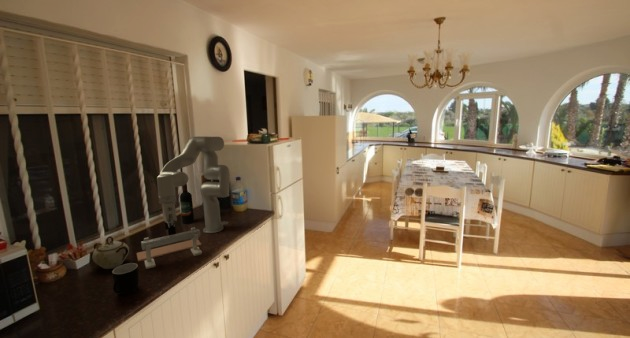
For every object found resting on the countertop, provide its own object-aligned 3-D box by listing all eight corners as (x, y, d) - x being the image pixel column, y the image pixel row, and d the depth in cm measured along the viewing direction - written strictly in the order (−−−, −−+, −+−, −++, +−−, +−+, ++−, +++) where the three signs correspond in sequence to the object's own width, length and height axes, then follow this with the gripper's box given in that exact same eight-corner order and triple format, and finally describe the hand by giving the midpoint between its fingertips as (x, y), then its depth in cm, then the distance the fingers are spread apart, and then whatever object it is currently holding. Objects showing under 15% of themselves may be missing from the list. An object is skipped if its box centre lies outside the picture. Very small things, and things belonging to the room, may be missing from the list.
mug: (124, 284, 127) (121, 263, 125) (145, 284, 127) (142, 262, 125) (105, 301, 115) (101, 278, 113) (127, 301, 115) (124, 278, 113)
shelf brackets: (198, 248, 161) (196, 226, 158) (202, 253, 154) (200, 230, 152) (144, 262, 146) (141, 238, 144) (146, 269, 139) (143, 243, 137)
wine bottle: (196, 221, 204) (192, 179, 199) (187, 224, 197) (183, 181, 192) (188, 219, 207) (184, 178, 202) (179, 223, 200) (175, 181, 195)
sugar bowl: (141, 259, 149) (138, 231, 147) (116, 274, 135) (112, 244, 132) (110, 256, 153) (106, 229, 151) (82, 270, 139) (77, 241, 136)
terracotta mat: (197, 239, 173) (197, 238, 172) (201, 245, 164) (201, 244, 164) (136, 254, 155) (136, 253, 155) (138, 261, 147) (138, 260, 147)
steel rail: (199, 234, 157) (198, 228, 157) (200, 236, 155) (200, 230, 154) (141, 247, 142) (140, 241, 142) (142, 250, 140) (141, 243, 139)
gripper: (179, 201, 140) (181, 235, 142) (172, 194, 153) (175, 225, 156) (161, 204, 135) (165, 238, 138) (156, 196, 149) (159, 228, 152)
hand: (170, 231), depth 147 cm, fingers open, 9 cm apart
